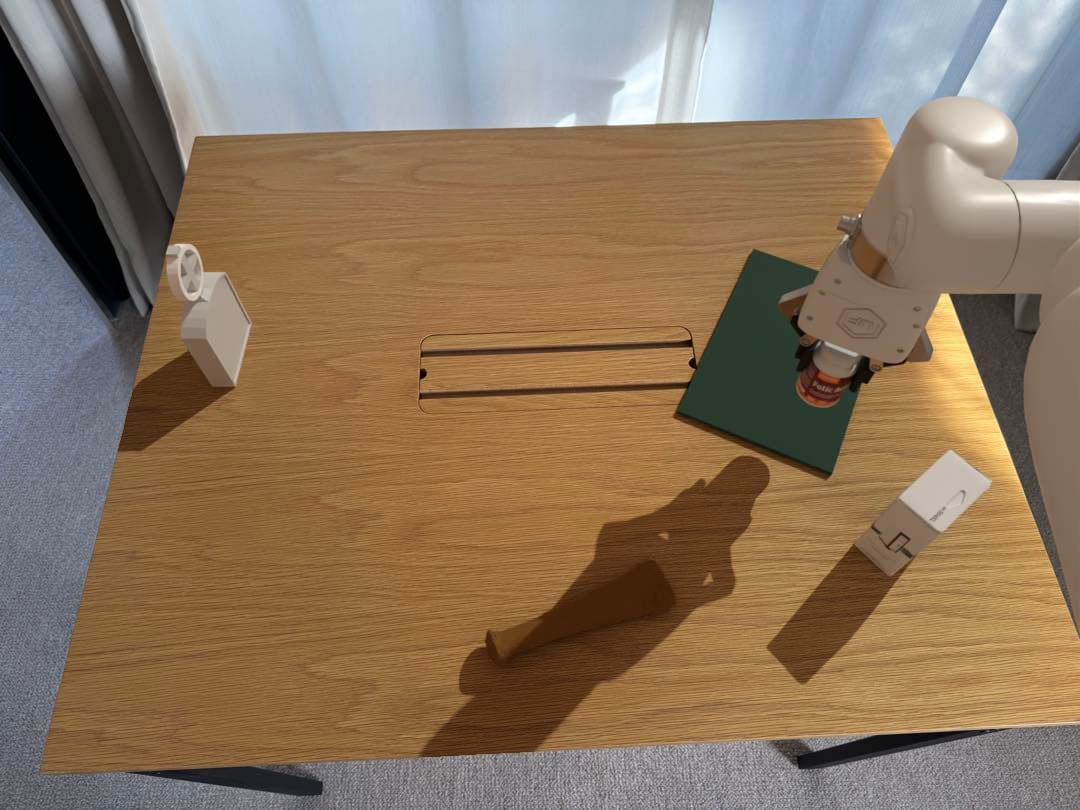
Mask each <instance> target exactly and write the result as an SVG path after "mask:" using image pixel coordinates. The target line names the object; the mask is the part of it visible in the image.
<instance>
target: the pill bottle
mask: <svg viewBox="0 0 1080 810" xmlns="http://www.w3.org/2000/svg"><path fill="white" fill-rule="evenodd" d="M862 356H863V355H861V354H858V353H855V352H852V351H850V350H847V349H844V348H841V347H839V346H836V345H833V344H831V343H828V342H825V341H823V340H821V341H820V342H818V343H817V344H816V347H815V349H814V352H813V354H812V356H811V358H810V360H809V362H808V363H807V365H806V367H805V369H804V371H803V372H801V373H800V375H799V377H798V380H797V383H796V389H797V393H798V394H799V396H800V397H801V399H802V400H803V401H805V402H806V403H808V404H809V405H811V406H814V407H819V408H826V407H830V406H833V405H834V404H836V403H837V402H838V400H839V399H840V397H841V396H842V394H843V393H844V391H845V390H846V388H847V387H848V385H849V383H850V382H851V380H852V379H853V377H854V376H855V374H856V373H857V371H858V369H859V367H860V359H861V357H862Z"/></svg>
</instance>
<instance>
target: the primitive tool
mask: <svg viewBox="0 0 1080 810" xmlns="http://www.w3.org/2000/svg"><path fill="white" fill-rule="evenodd" d="M676 605H677V597H676V595H675V594H674V591H673V589H672V587H671V584H670V583H669V581H668V580H667V578H666V576H665V574H664V573H663V571H662V569H661V567H660V566H659V563H657V562H656V560H655V559H653V558H651V559H650V558H648V559H646V560H644V561H642V562H639V563H637V565H635V566H633V567H631V568H630V569H628V570H627V571H624V572H623V573H622V574H620V575H619V576H617V577H615V578H614V579H611V580H609V581H608V582H607V583H604V584H602V585H600V586H598V587H596V588H593V589H591V590H588V591H587V592H586V593H583V594H581V595H580V596H578V597H576V598H572V599H571V600H564V601H563V602H561V603H560V604H559V605H558V606H557V607H555V608H554V609H553V608H552V609H551V610H548V611H545V612H544V613H542V614H541V615H539V616H538V617H535V618H532V619H529V620H527V621H525V622H522V623H520V624H517V625H515V626H512V627H510V628H509V627H508V628H505V629H503V630H491V629H488V630H487V631H486V633H485V639H484V643H485V648H484V649H485V652H486V653H487V655H488V657H489V659H490V662H491V663H492V664H493V665H495V666H497V667H499V668H503V666H504V665H505V663H506V662H507V661H508V659H509V658H510V657H511V656H514V655H517V654H519V653H521V652H523V651H527V650H530V649H534V647H537V646H540V645H543V644H546V643H549V642H551V641H555V640H558V639H561V638H565V637H569V636H571V635H574V634H578V633H580V632H584V631H588V630H591V629H596V628H599V627H607V626H609V625H616V624H617V623H618V622H623V621H626V620H629V619H634V618H639V617H643V616H644V617H645V616H648V615H650V616H651V617H656V616H657V615H658V614H661V613H667V612H669V611H670V609H672V608H674V607H675V606H676Z"/></svg>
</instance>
